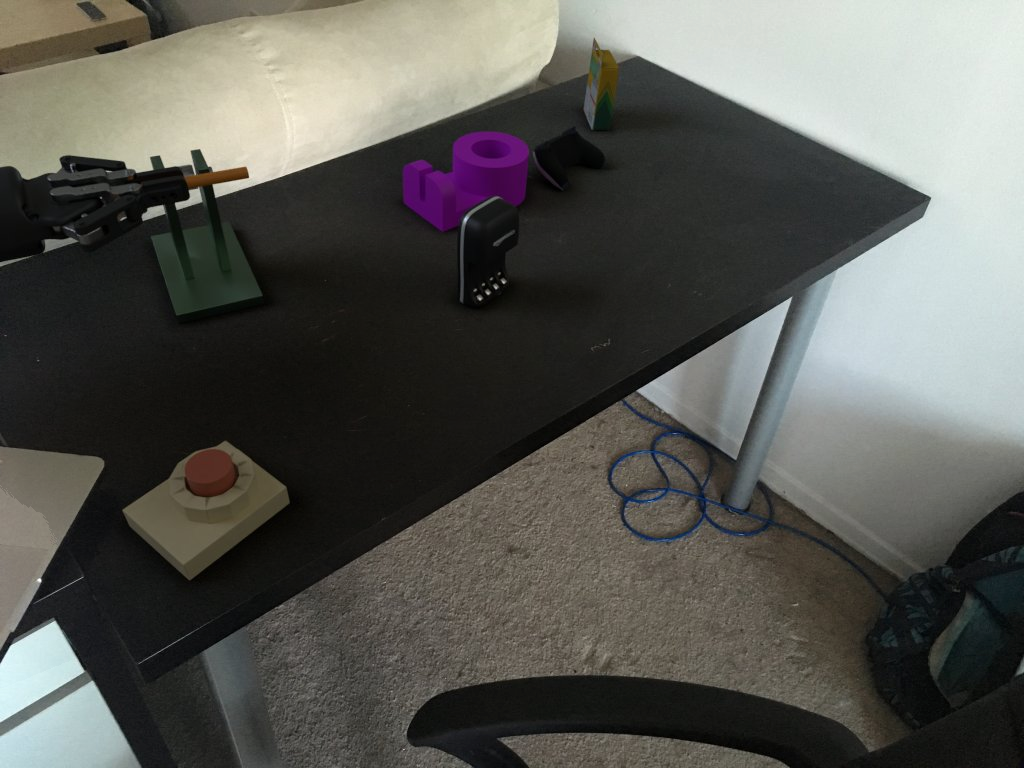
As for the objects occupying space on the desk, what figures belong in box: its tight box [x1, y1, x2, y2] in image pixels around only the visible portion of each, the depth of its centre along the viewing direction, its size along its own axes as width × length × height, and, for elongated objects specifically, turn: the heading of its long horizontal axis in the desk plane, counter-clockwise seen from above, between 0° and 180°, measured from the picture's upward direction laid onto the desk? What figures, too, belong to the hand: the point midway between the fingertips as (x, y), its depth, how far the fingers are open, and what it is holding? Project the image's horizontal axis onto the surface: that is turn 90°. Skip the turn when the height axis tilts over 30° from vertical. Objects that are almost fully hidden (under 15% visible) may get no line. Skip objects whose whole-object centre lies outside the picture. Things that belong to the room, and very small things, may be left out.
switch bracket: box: [149, 148, 265, 325], centre depth 85 cm, size 16×9×14 cm, turn 27°
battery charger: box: [456, 196, 520, 309], centre depth 86 cm, size 7×4×11 cm, turn 142°
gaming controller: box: [532, 125, 606, 191], centre depth 111 cm, size 11×4×7 cm
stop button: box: [185, 448, 236, 497], centre depth 63 cm, size 4×4×2 cm
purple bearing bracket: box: [402, 131, 530, 233], centre depth 103 cm, size 16×10×6 cm, turn 131°
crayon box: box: [583, 37, 620, 131], centre depth 121 cm, size 7×3×12 cm, turn 7°
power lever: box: [140, 164, 250, 191], centre depth 77 cm, size 13×10×2 cm
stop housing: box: [122, 440, 291, 581], centre depth 64 cm, size 10×8×4 cm
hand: (185, 182), depth 72 cm, fingers closed
